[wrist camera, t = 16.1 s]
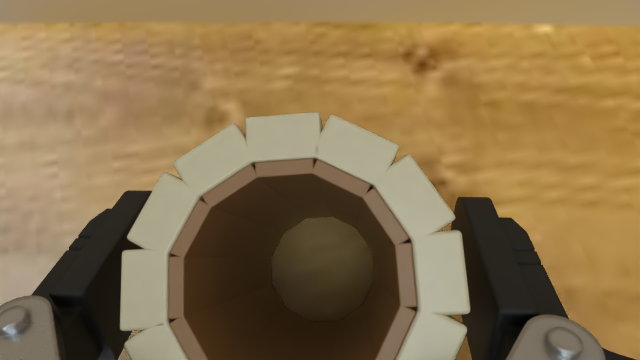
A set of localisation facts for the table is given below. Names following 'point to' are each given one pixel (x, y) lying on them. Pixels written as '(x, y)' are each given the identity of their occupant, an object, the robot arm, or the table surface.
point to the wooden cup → (264, 235)
